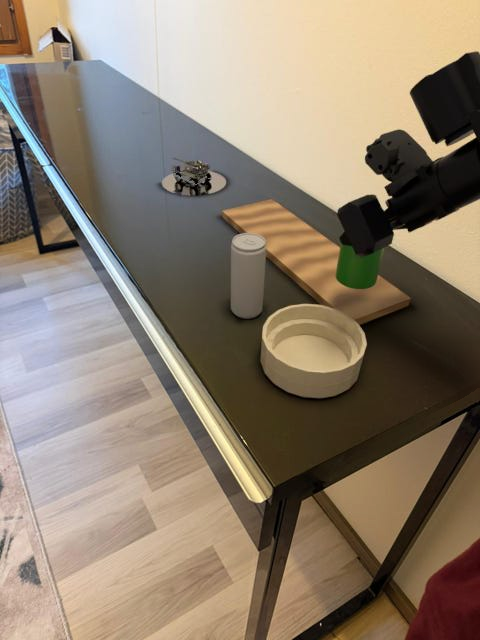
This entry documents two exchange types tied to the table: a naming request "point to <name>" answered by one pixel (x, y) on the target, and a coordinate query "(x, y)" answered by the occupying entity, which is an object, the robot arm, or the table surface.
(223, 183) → the grey wheeled model
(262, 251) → the beverage can
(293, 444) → the table surface
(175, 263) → the table surface
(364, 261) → the green spray can
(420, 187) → the robot arm
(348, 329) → the bowl
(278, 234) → the cutting board
